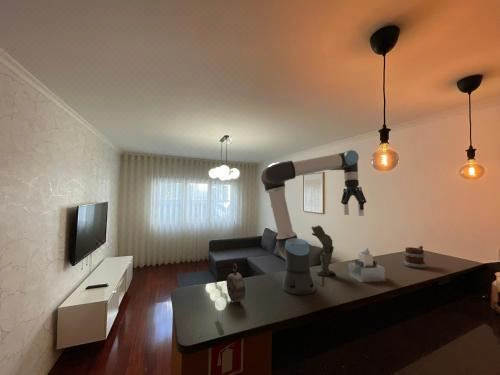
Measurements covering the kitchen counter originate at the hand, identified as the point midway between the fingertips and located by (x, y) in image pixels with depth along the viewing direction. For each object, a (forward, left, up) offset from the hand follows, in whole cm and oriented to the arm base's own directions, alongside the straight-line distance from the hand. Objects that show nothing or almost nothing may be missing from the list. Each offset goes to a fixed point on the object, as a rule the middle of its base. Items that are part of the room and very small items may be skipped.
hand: (353, 215), depth 122 cm
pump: (+3, -4, -28) cm, 28 cm away
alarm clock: (-72, -22, -35) cm, 83 cm away
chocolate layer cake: (+50, +10, -35) cm, 62 cm away
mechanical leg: (-17, +6, -35) cm, 39 cm away
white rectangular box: (+3, -4, -35) cm, 35 cm away
